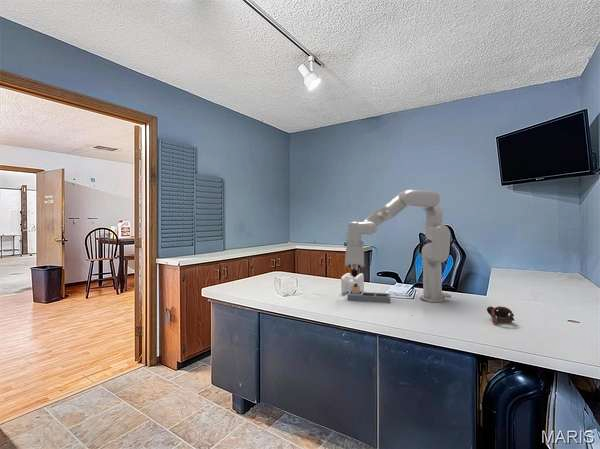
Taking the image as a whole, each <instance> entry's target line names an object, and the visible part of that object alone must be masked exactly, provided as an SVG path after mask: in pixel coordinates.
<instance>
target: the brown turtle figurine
mask: <svg viewBox="0 0 600 449" xmlns="http://www.w3.org/2000/svg"><path fill="white" fill-rule="evenodd" d="M486 311H487V313H488V314H489V315H490V317H491V319H492V321H491V322H492V324H493V323H494V324H496V325H504V324H505V325H506V324H508V323H513V322H515V318H514V317H515V315H514V313H513V311H512V310H511V309H510V308H507V307H506V306H500V305H499V306H495V307H493V306H491V305H490V306H488V307H486ZM494 324H493V325H494Z"/></svg>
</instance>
